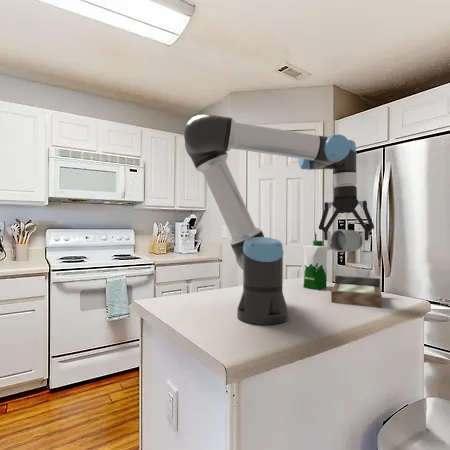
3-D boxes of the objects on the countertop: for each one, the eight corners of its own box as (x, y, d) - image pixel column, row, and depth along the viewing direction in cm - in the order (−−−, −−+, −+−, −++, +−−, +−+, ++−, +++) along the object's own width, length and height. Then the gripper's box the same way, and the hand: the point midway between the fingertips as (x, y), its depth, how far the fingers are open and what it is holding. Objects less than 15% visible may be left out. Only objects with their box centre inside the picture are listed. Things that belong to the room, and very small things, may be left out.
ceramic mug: (364, 251, 110) (364, 228, 110) (346, 252, 106) (346, 229, 106) (341, 249, 119) (341, 228, 119) (324, 250, 116) (323, 229, 116)
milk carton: (329, 287, 138) (330, 241, 138) (318, 290, 132) (318, 242, 132) (311, 284, 145) (312, 240, 145) (300, 287, 139) (300, 241, 138)
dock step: (331, 302, 114) (331, 282, 114) (335, 292, 129) (335, 275, 128) (381, 307, 107) (381, 286, 107) (379, 296, 122) (380, 278, 122)
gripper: (381, 184, 110) (382, 249, 110) (312, 189, 120) (314, 248, 120) (382, 182, 103) (383, 251, 103) (309, 187, 113) (310, 250, 113)
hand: (346, 250), depth 112 cm, fingers closed on ceramic mug, 11 cm apart
